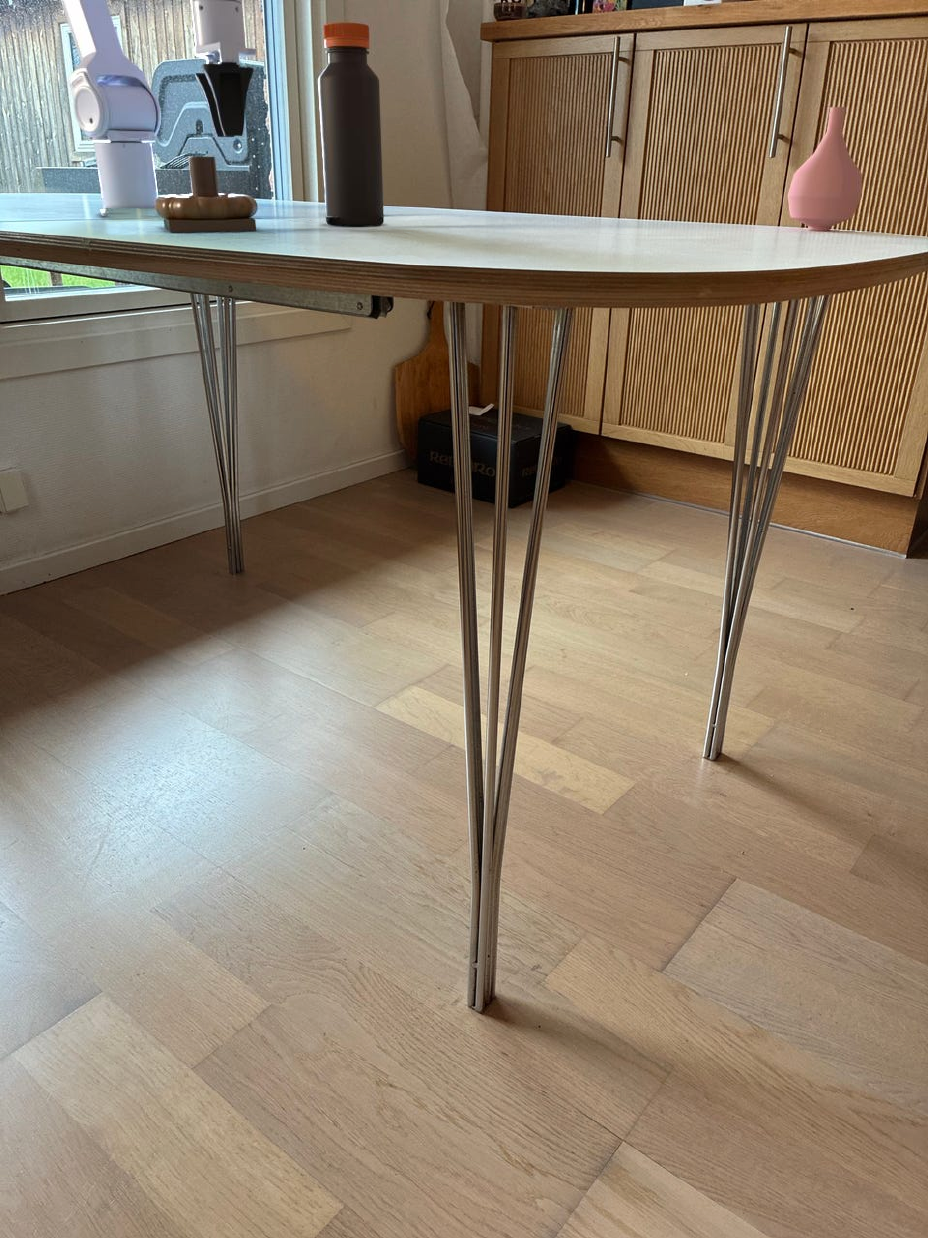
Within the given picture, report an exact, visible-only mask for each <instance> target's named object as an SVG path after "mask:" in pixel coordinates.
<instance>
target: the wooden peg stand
mask: <svg viewBox="0 0 928 1238" xmlns="http://www.w3.org/2000/svg"><path fill="white" fill-rule="evenodd" d="M187 158H188V169H189V177H190V187H191V194H192V196H193V197H219V194H220V193H219V191H220V190H219V183H218V174H217V164H216V157H215V156H188V157H187ZM256 223H257V222H256V219H255V218H253V217H247V218H238V219H212V220H187V219H167V218H164V219H163V226H164V228H165V229H166V230H167V231H168V233H171V234H182V233H184V234H185V233H186V234H187V233H188V234H189V233H223V232H224V233H227V232H229V233H230V232H231V233H232V232H234V233H235V232H257V224H256Z"/></svg>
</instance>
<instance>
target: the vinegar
mask: <svg viewBox="0 0 928 1238" xmlns="http://www.w3.org/2000/svg"><path fill="white" fill-rule="evenodd" d="M323 41H324V42H323V43H324V48H325V49H326V50H325V54H327V57H328V59H327V60H328V63H327V65H326V66H325V67H324V69H323V70H322V72H321V73H320V74H319V76H318V79H317V85H318V88H317V89H318V102H319V105H318V106H319V120H320V137H321V139H320V140H321V150H322V151H321V155H322V173H323V189H324V190H323V191H324V207H325V208H324V209H325V222H326V224H327V225H328V226H332V227H345V228H346V227H347V228H348V227H349V228H350V227H353V228H354V227H356V228H357V227H360V228H361V227H378V226H381V225H382V226H383V224H384V222H385V217H384V216H385V215H384V188H383V186H384V185H383V158H382V157H383V156H382V126H381V125H382V124H381V98H380V97H381V95H380V93H381V92H380V80H379V77H378V75H377V74H376V73H375V71H374V70H373V69H372V67H370V65H369V64H368V55H370V51H369V50H370V26H369V25H368V24H366V23H360V22H329V23H325V24H323Z"/></svg>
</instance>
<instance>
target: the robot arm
mask: <svg viewBox="0 0 928 1238" xmlns="http://www.w3.org/2000/svg"><path fill="white" fill-rule="evenodd" d="M60 4H61V6H62V10H63V12H64V16H65V19H66V21H67V24H68V27H69V30H70V33H71V36H72V39H73V42H74V45H75V48H76V51H77V54H78V57H79V60H80V63H79V64H78V65H77V66H76V68H75V69H74V70H73V72H72V73H71V76H70V77H69V79H68V84H69V87H70V90H71V94H72V101H73V103H72V105H73V106H72V107H73V113H74V116H75V119H76V122H77V124H78V126H79V127H80V129H81V130H82V132H83V133H84V134H85V135H86V136H87V141H88V142H93V146H94V147H93V148H94V154H95V161H96V165H97V166H96V167H97V173H98V174H97V175H98V178H99V186H100V193H101V199H102V200H101V201H102V204H103V205H102V206H103V209H100V212H101V213H100V214H101V216H102V217H107V216H108V212H107V209H152V208H153V209H154V208H155V201H156V199H157V198H158V197H159V193H158V185H157V179H156V178H157V177H156V170H155V162H154V155H153V147H152V143H155V142H156V136H157V135H158V133H159V131H160V128H161V124H162V110H161V106H160V102H159V100H158V97H157V96H156V94H155V93H154V91H153V90H152V89H151V87H150V85H149V83H148V80H147V78H146V75H145V73H144V71H143V70H142V69H141V68H140V67H138V66H137V65H136V64H135V63H134V62H133V61H131V60H130V58H128V57H127V56H126V55H125V54H124V51H123V49H122V46H121V42H120V40H119V37H118V32H117V30H116V26H115V24H114V21H113V18H112V15H111V12H110V9H109V6H108V2H107V0H60ZM190 5H191V6H190V7H191V17H192V24H193V34H194V43H195V46H194V47H193V50H194V56H196V57H199V58H201V59H203V60H206V63H203V64H202V65H201V70H202V72H196V73H194V77H195V79H196V81H197V83H198V84H199V87H200V88H201V91H202V93H203V95H204V97H205V100H206V104H207V106H208V111H209V115H210V118H211V122H212V125H213V129H214V132H215V136H216V137H217V138H235V137H242V136H243V135H244V129H245V118H246V117H245V116H246V106H247V105H246V104H247V96H248V91H249V87H250V84H251V80H252V77H253V74H254V70H255V69H254V68H253V67H247V66H246V67H241V66H240V64H238V63H240V59H244V58H248V57H256V56H257V49H256V48H253V47H252V48H251V47H247V46H246V37H245V36H246V35H245V26H244V25H245V24H244V13H243V0H190Z"/></svg>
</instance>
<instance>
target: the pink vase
mask: <svg viewBox="0 0 928 1238" xmlns="http://www.w3.org/2000/svg"><path fill="white" fill-rule="evenodd" d="M846 109H847V108H846V106H830V108H829V114H828V121H827V128H826V129H827V130H826V133H825V134H824V136H823V137H822V139H821V140H820V142H819V144H818V145H817V147H816V148H815V150H814V152H813V154H812V155H811V156H810V157H809V158H807V160H806V161H805V162H804V163H803V164H801V166H800V167H799V168H798V169H796V171H795V172H794V173H793V176H792V179H791V183H790V186H789V189H788V193H787V201H788V203H787V204H788V210H789V217H790V218H792V219H794V220H795V221H798V222H799V223H801V224H803V225H805V226H807V227H808V228H807V230H808V231H815V232H817V231H819V232H821V231H822V232H825V231H826V232H827V231H831V227H834V226H836V225H838V224H841V223H844V222H846V221H848V220H851V219H853V217H854V215H855V213H856V210H857V208H858V206H859V204H860V202H861V199H862V197H863V173H862V172H861V170H860V168H859V167H858V166H857V164H856V163H855V161H854V160H853V158H852V156H851V155H850V154H849V151H848V150H849V149H848V148H847V144H846V141H845V137H844V134H843V127H844V121H845V116H846Z"/></svg>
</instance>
